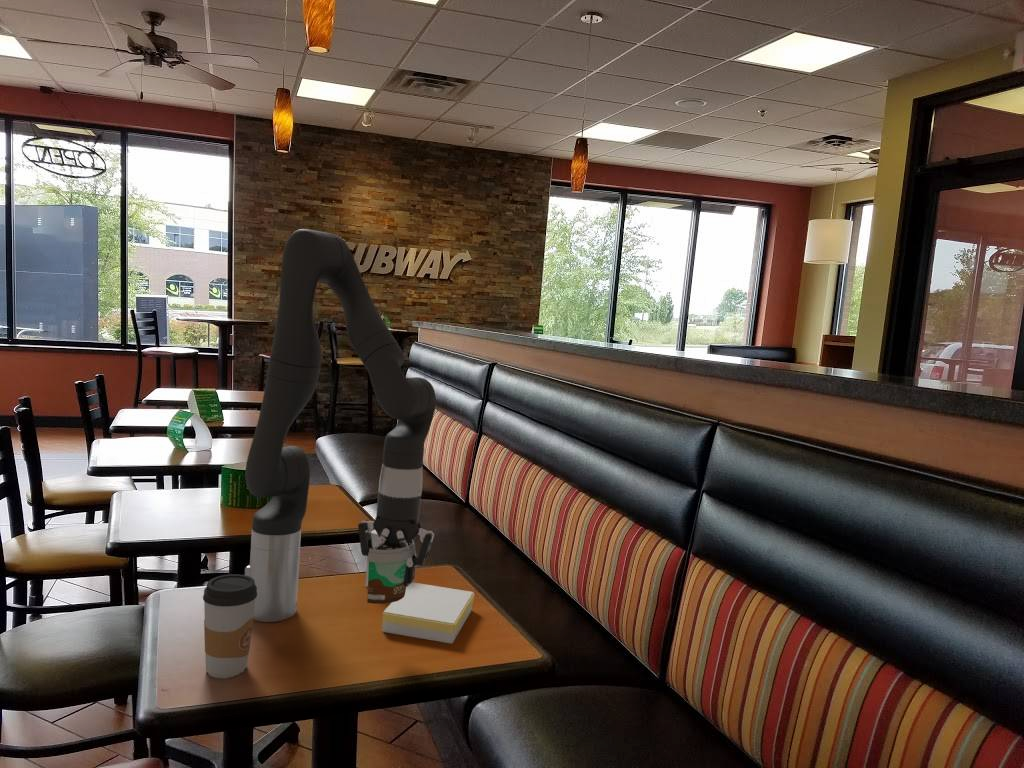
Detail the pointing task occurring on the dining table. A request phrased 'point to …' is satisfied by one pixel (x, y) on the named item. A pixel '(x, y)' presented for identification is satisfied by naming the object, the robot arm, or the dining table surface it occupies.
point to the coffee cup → (228, 623)
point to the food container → (387, 573)
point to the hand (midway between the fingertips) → (391, 581)
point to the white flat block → (428, 612)
